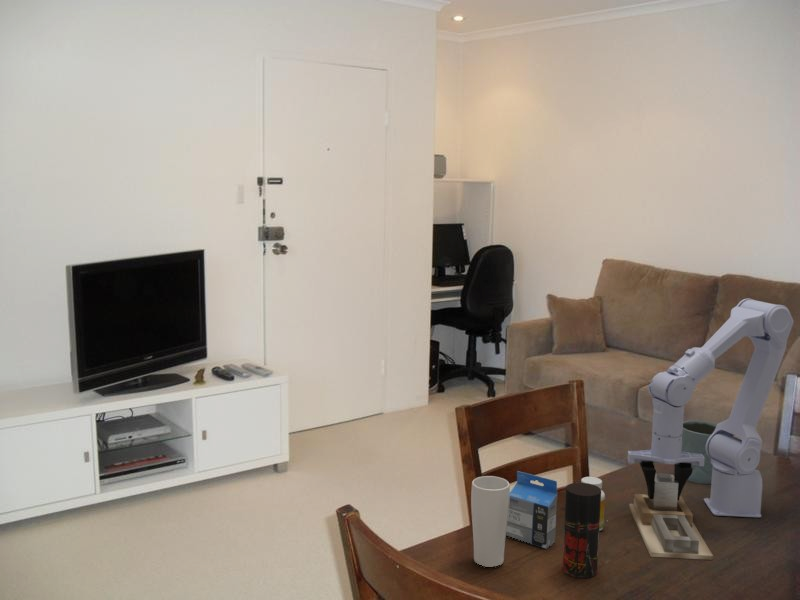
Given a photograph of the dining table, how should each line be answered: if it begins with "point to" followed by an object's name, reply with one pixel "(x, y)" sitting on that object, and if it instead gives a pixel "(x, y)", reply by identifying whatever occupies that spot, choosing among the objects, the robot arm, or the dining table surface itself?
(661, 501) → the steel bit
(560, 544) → the dining table surface
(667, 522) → the socket board
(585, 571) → the deodorant
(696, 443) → the green plant pot
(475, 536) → the drinking glass
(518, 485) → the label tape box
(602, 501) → the supplement bottle
